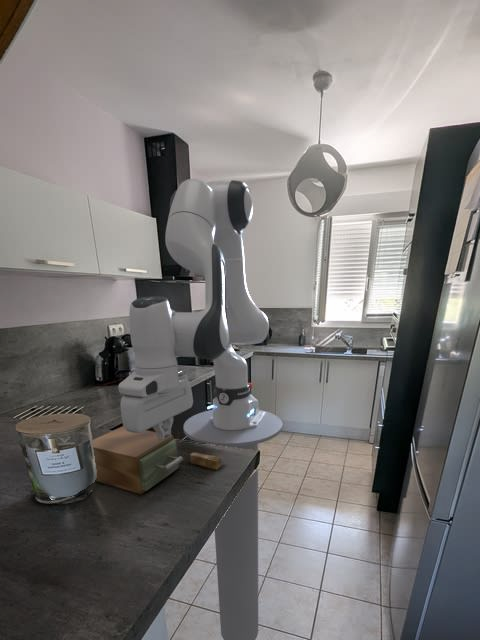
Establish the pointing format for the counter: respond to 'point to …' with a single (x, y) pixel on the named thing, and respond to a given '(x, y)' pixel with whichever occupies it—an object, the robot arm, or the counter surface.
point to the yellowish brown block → (205, 460)
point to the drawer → (158, 464)
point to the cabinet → (124, 457)
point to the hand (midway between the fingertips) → (164, 437)
